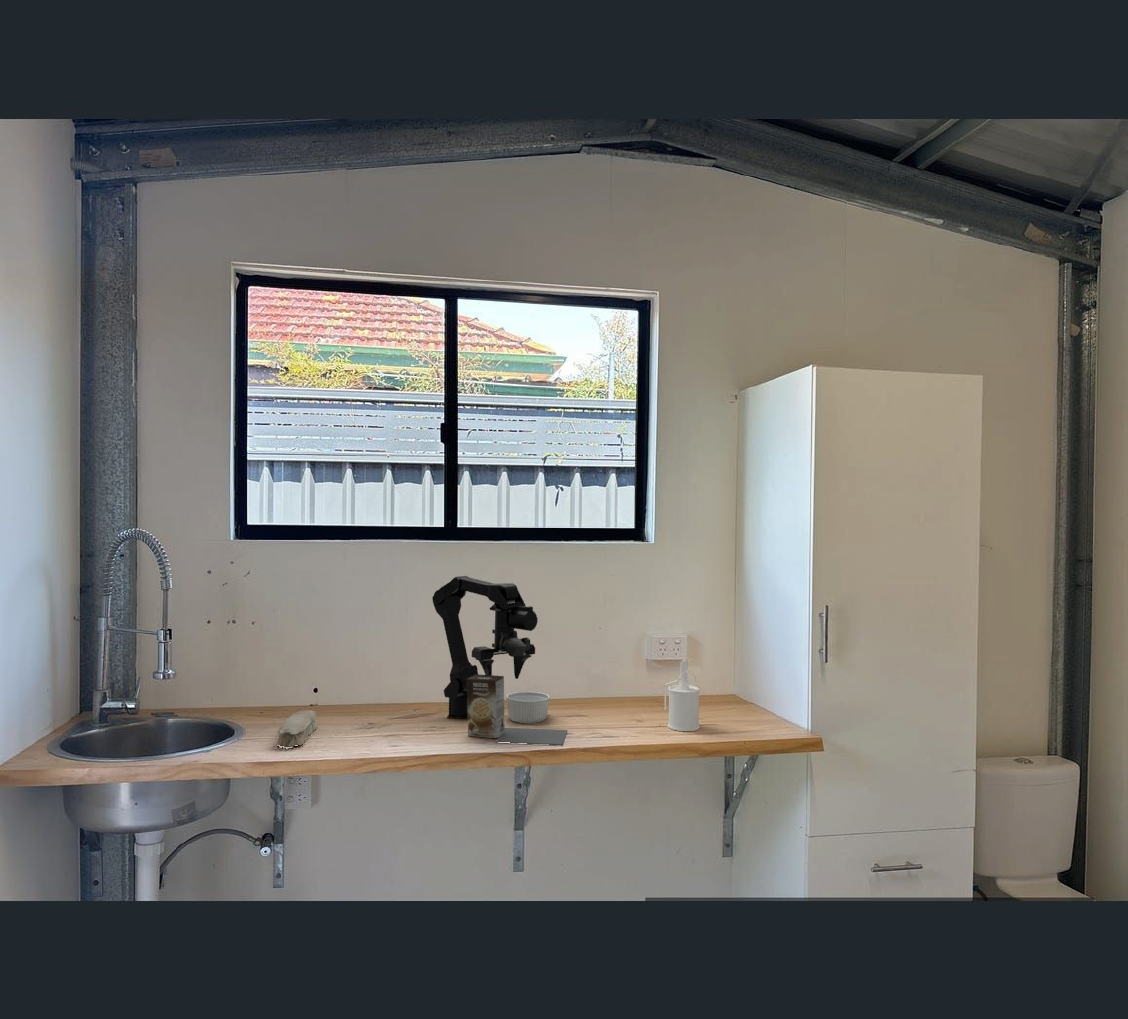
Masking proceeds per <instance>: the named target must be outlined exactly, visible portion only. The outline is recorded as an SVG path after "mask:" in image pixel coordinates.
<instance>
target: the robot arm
mask: <svg viewBox="0 0 1128 1019" xmlns="http://www.w3.org/2000/svg"><path fill="white" fill-rule="evenodd" d="M468 592H469V593H473V594H476V595H480V596H484V597H486V598H487V599H488V600H489V601H491V602H492V603H493V605H492V606H490V607H489V611H494V629H491V630H492V631H491V633H492V634H494V642H493V643H491V647H488V646H484V645H482V646H474V647H473V649H472V650H471V658H474V659H475V660H477V661H478V662H479V664H480V665H481V666H480V667H482V670H483V672H484V675H493V663H494V662H495V660H494V659H493V657H494V656H497V655H499V656H500V655H507V654H508V656H509V657H513V675H514V679H516V680H518V679H519V676H520V675H521V672H522V669H523V666H524V664H525V663H526V661H527V660H528V659H529V658H532V655H535V654H536V646H535V645H534V643H533V644H532V643H531V638H529V637H522V638H519V637H518V632H517V630H522V631H528V632H531V631H534V630H535V629H536V628H537V625H538V616H537V613H536V612H535V611H534V607H533V606H531V605H530V606H526V603H525V601H524V599H523V597H522V595H521V594H520V590H519V589H518V586H517V585H516V584H515V583H513V582H512V583H507V582H506V583H505V582H504V583H503V582H502V583H501V582H500V583H493V582H488V581H484V580H482V579H477V578H473V577H470V576H467V575H461V576H459V575H457V576H455V577H453V578H452V579H451V580H450V581H449V582H447V583H446V584H444V585H443V586H441V587H440V588H439V589H437V590H435V591H434V593H433V595H432V598H431V599H432V604H433V606H434V609H435V611H436V612H435V613H436V614H438V615H439V617H440V618H441V619H442V621H443V627H444V630H445V635H446V640H447V644H448V645H447V646H448V649H449V655H450V659H451V664H452V665H451V669H450V672H449V681H450V682H449V683H448V684H447V686H445V687H444V689H443V694H444V697H445V698H448V715H447V716H446V718H447V719H466V720H468V712H467V679H468V678H470V677H472V676H474V675H476V674H478V675H480V673H479V671H478V666H477V665H476V664H474V665H473V664H472V663H471V662H470V661H469V657H468V652H467V649H466V648H467V647H466V643H465V639H464V634H463V630H462V625H461V621H460V617H459V615H460V613H461V612H460V611H461V608H462V599H463V598H464V597H465V596H466V593H468Z"/></svg>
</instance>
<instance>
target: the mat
mask: <svg viewBox="0 0 1128 1019" xmlns="http://www.w3.org/2000/svg"><path fill="white" fill-rule="evenodd" d="M566 732H567V733H568V729H556V728H555V729H553V728H552V729H551V728H530V727H529V728H527V727H523V728H522V727H505V733H503V734H502V735H500V736H499V737H497V739H496V741H495V742H510V743H527V744H526V745H532V744H549V745H548V746H556V745H562V746H564V742H563V741H565V739H566V736H567V733H566Z"/></svg>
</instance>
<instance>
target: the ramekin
mask: <svg viewBox="0 0 1128 1019" xmlns="http://www.w3.org/2000/svg"><path fill="white" fill-rule="evenodd" d="M505 697H506V699H505V700H506V701H505V702H506V707H507V714H508V718H509V719H510V721H512V722H514V721H515V722H514V723H518V722H520V724H537V723H536V722H538V723H541V722H540V721H542V722H543V720H544V719H545V720H546V719H547V716H548V713H549V712H548V711H549V704H550V702H551V698H550V695H549V694H547V693H543V692H538V691H516V692H511V693H508V694H507V695H506V696H505ZM545 720H544V721H545Z"/></svg>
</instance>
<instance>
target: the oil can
mask: <svg viewBox="0 0 1128 1019" xmlns="http://www.w3.org/2000/svg"><path fill="white" fill-rule="evenodd" d="M679 664H680V665H679V670H680V672H679V673H680V674H679V676H678V678H677V679H675V680H672V681H669V682H666V683H665V684H664V687H663V688H664V696H663V701H664V702H663V707H664V708H663V710H664V711H666V710H667V690H668V724H667V727H668V729H670V730H673V731H675V730H676V732H682V731H686V732H685V733H687V731H691V732H696V731H699V730H700V722H699V720H700V716H699V714H700V712H699V711H700V692H701V689H700V688H699V687H697V686H693V685H694V684H695V682H696V675H695V673H694V672H693V671H691V670H690V671H689V670H688V659H685V658H683V659H682V661H680V663H679ZM688 673H691V674H692V675H693V678H694V679H693V682H692V683H691V684H690V680H689V679H688ZM678 681H679V683H678V684H674V683H675V682H678ZM672 683H673V684H674V685H670V684H672ZM667 685H670V686H668V688H667Z"/></svg>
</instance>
